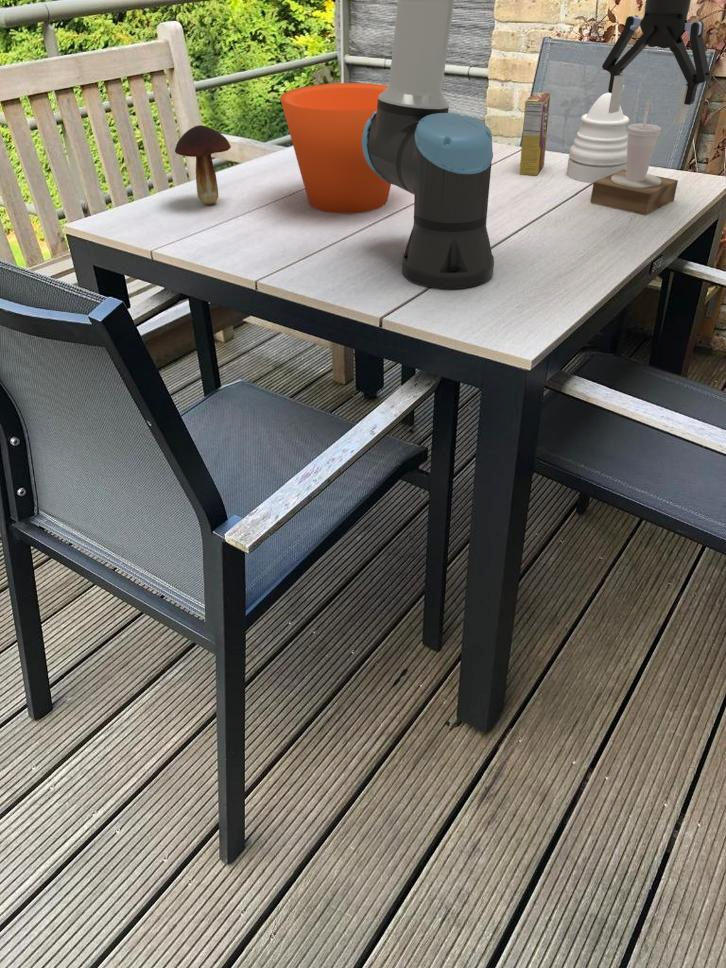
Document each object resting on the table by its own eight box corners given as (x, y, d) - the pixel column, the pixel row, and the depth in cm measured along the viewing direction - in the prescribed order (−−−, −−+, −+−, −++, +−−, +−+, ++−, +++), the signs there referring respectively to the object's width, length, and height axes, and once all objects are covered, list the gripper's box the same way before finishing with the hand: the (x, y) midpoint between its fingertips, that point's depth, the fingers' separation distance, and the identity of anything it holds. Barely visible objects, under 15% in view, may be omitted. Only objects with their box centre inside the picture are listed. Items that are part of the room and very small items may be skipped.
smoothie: (648, 174, 166) (663, 99, 158) (654, 184, 161) (669, 106, 153) (616, 174, 167) (628, 99, 158) (621, 183, 161) (634, 106, 153)
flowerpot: (267, 214, 162) (259, 106, 150) (311, 179, 181) (307, 80, 170) (390, 225, 156) (391, 113, 144) (421, 187, 175) (425, 86, 164)
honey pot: (608, 165, 188) (622, 78, 177) (637, 180, 178) (654, 90, 167) (556, 169, 185) (567, 82, 175) (583, 186, 175) (596, 94, 165)
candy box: (525, 164, 189) (532, 91, 180) (544, 165, 188) (552, 92, 179) (517, 174, 182) (524, 100, 173) (537, 176, 181) (545, 101, 172)
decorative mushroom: (188, 215, 162) (177, 134, 153) (177, 199, 170) (166, 122, 162) (242, 208, 165) (234, 128, 157) (228, 193, 174) (220, 116, 165)
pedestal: (645, 215, 159) (649, 192, 157) (590, 202, 166) (593, 180, 163) (673, 200, 166) (678, 178, 164) (619, 189, 173) (623, 167, 170)
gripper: (749, -9, 140) (717, 124, 152) (617, -19, 153) (597, 104, 166) (731, -6, 135) (700, 131, 148) (596, -16, 149) (577, 110, 161)
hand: (645, 117), depth 157 cm, fingers open, 13 cm apart
